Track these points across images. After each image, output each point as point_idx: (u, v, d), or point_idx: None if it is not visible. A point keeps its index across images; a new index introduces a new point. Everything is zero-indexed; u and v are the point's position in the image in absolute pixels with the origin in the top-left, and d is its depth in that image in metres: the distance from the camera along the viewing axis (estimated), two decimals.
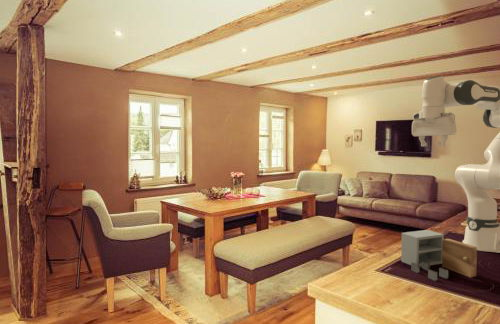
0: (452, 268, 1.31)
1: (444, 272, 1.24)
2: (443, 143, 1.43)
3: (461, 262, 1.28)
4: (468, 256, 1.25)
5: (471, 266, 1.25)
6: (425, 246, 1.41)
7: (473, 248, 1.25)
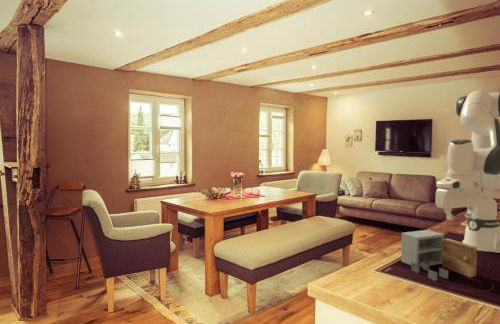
0: (452, 268, 1.31)
1: (444, 272, 1.24)
2: None
3: (461, 262, 1.28)
4: (468, 256, 1.25)
5: (471, 266, 1.25)
6: (425, 246, 1.41)
7: (473, 248, 1.25)
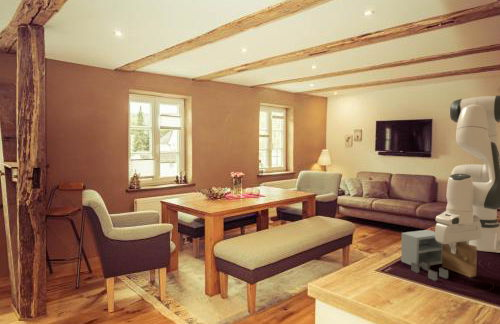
0: (452, 268, 1.31)
1: (444, 272, 1.24)
2: None
3: (461, 262, 1.28)
4: (468, 256, 1.25)
5: (471, 266, 1.25)
6: (425, 246, 1.41)
7: (473, 248, 1.25)
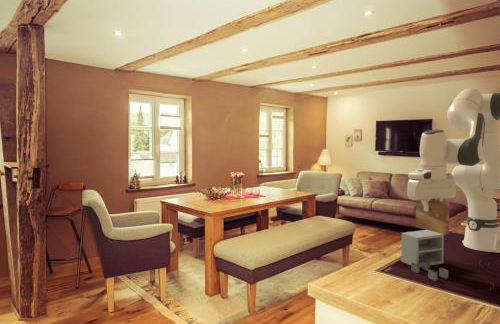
0: (425, 227, 1.28)
1: (444, 272, 1.24)
2: None
3: (434, 219, 1.24)
4: (440, 212, 1.21)
5: (443, 222, 1.21)
6: (425, 246, 1.41)
7: (445, 203, 1.21)
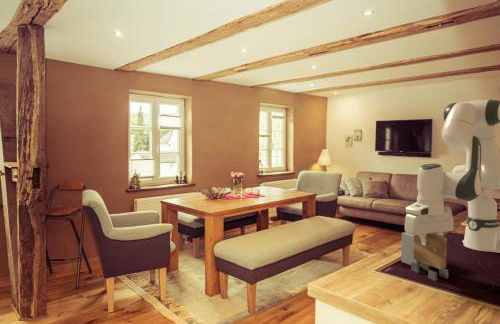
0: (423, 260, 1.28)
1: (444, 272, 1.24)
2: None
3: (431, 253, 1.25)
4: (438, 247, 1.22)
5: (440, 257, 1.21)
6: None
7: (443, 239, 1.21)
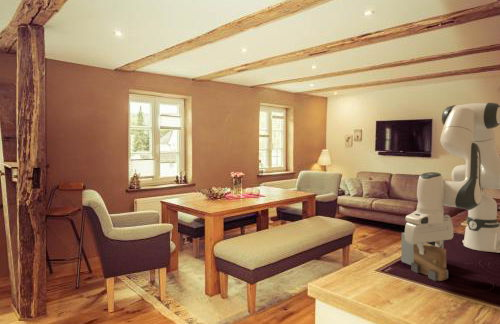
0: (423, 271, 1.29)
1: None
2: None
3: (431, 265, 1.25)
4: (437, 259, 1.22)
5: (440, 269, 1.22)
6: None
7: (442, 251, 1.22)
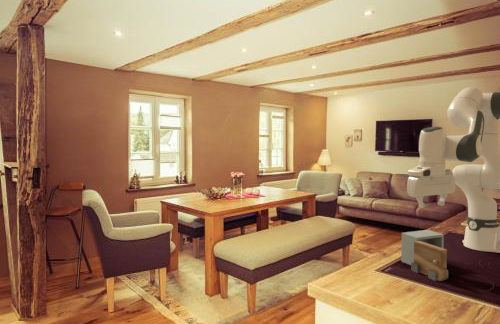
0: (423, 271, 1.29)
1: None
2: None
3: (431, 265, 1.25)
4: (438, 259, 1.22)
5: (440, 269, 1.22)
6: None
7: (443, 251, 1.22)
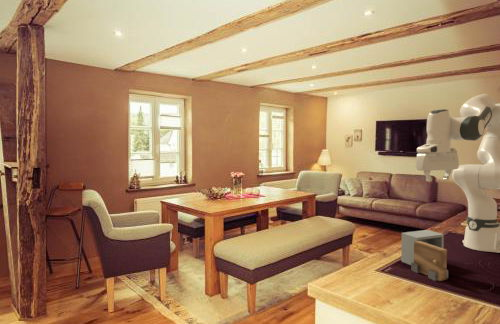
0: (423, 271, 1.29)
1: None
2: None
3: (431, 265, 1.25)
4: (438, 259, 1.22)
5: (440, 269, 1.22)
6: None
7: (443, 251, 1.22)
